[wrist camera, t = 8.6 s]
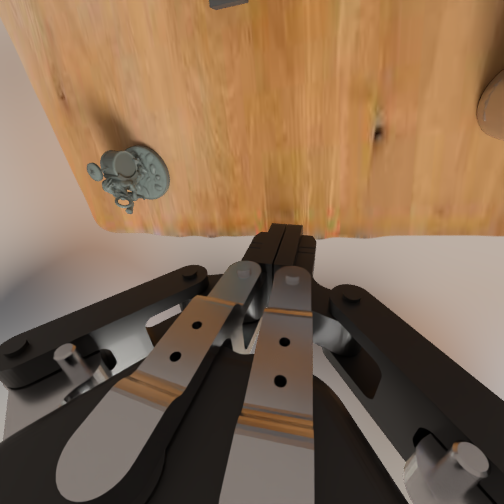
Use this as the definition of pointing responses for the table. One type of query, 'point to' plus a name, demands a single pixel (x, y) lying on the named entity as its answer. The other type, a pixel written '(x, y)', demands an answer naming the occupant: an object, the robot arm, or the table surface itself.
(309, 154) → the table surface
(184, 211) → the table surface
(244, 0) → the chute
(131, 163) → the figurine
